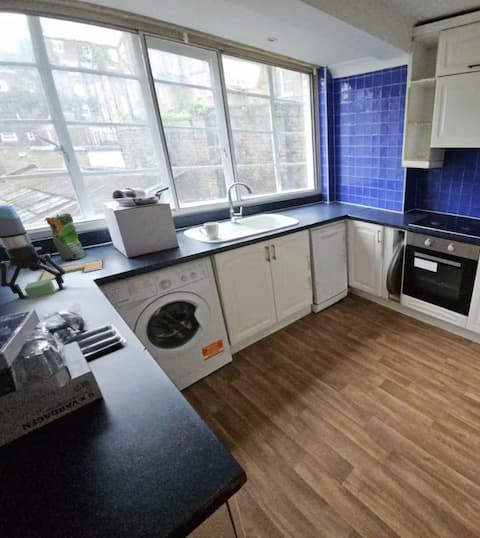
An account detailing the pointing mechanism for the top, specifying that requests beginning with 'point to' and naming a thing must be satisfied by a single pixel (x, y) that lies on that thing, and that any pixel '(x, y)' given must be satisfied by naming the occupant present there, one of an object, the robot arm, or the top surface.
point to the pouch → (65, 237)
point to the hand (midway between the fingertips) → (43, 295)
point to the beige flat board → (86, 266)
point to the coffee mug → (41, 252)
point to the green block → (39, 288)
